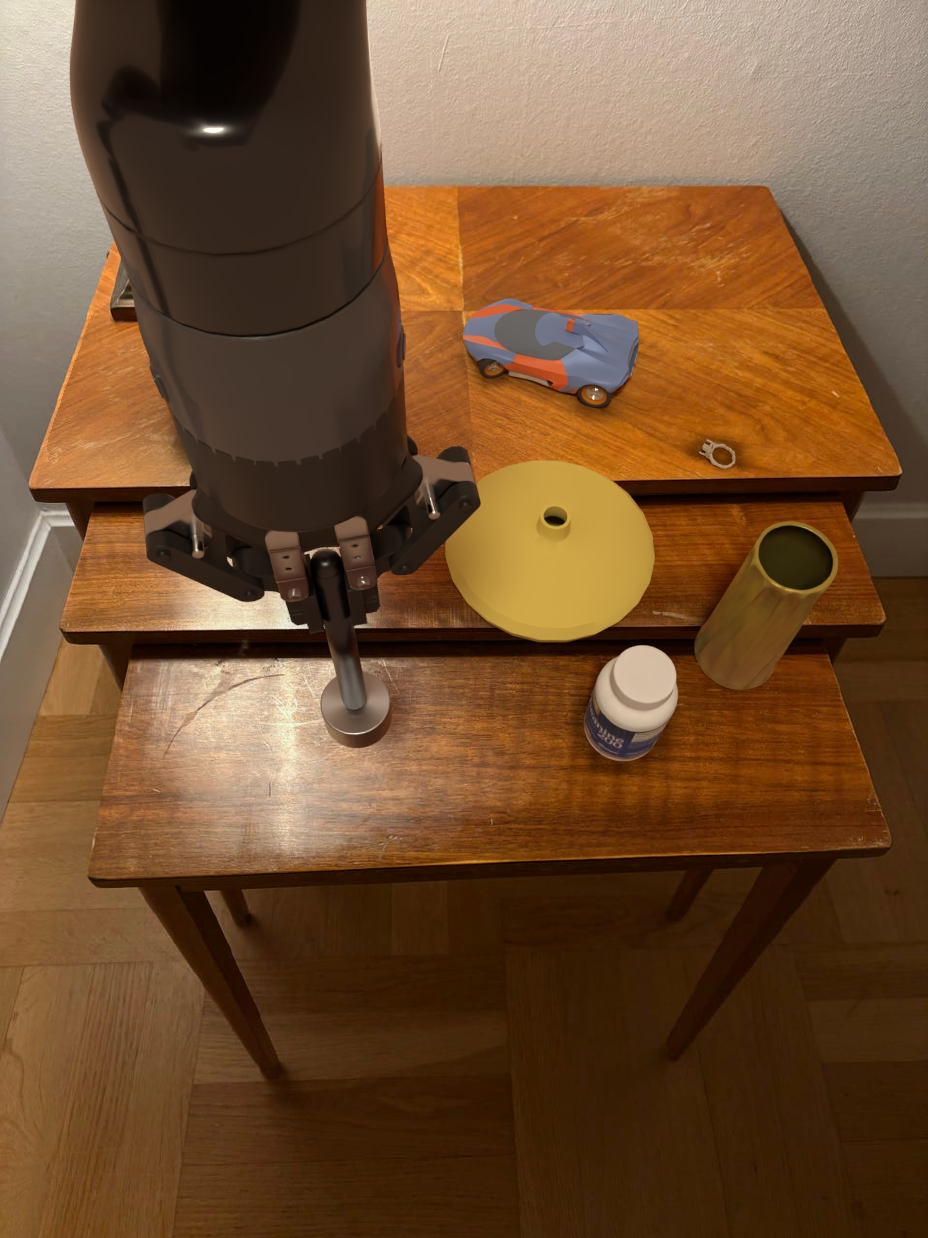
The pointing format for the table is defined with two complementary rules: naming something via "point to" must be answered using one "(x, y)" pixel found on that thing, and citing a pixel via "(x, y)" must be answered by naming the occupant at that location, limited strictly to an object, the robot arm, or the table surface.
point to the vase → (765, 605)
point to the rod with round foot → (347, 664)
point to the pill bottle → (631, 703)
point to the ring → (709, 452)
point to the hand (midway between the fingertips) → (335, 610)
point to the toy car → (554, 347)
